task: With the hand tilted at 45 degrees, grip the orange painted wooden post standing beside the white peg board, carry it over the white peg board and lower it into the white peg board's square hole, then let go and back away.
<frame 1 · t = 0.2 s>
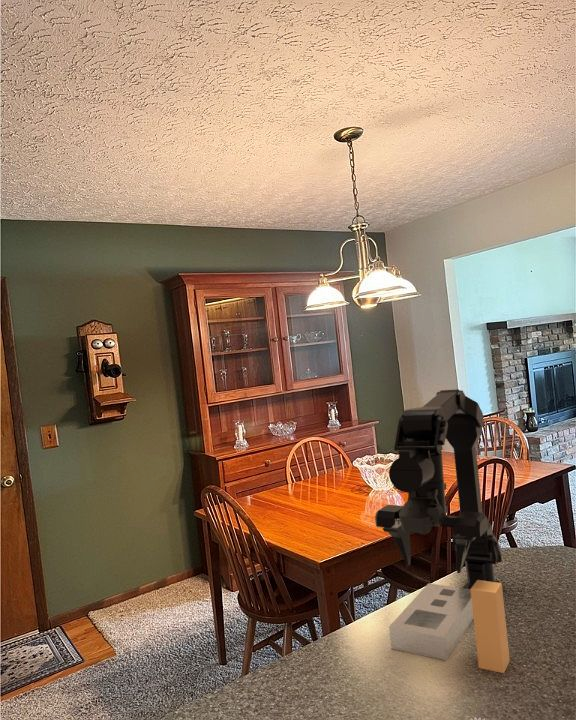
hand: (433, 568, 100), 14 cm above the counter, tool pointing down, fingers open, 9 cm apart
white peg board: (437, 628, 107), on the counter
orange post: (494, 664, 94), on the counter
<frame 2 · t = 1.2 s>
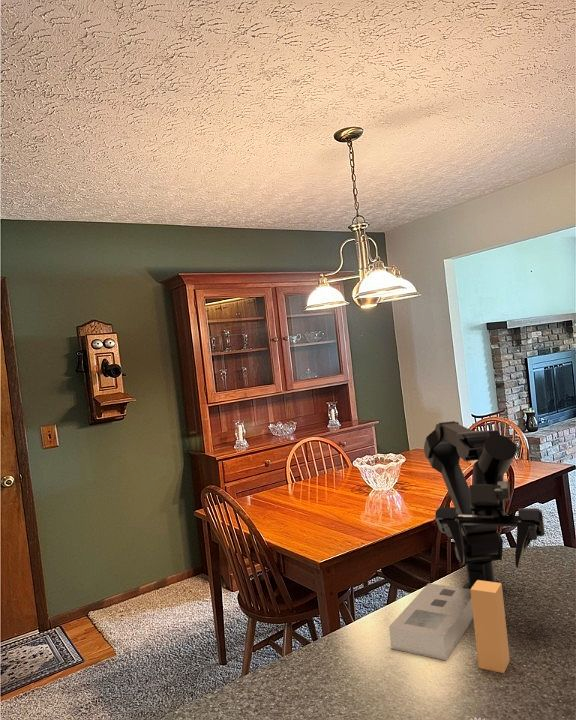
hand: (489, 565, 101), 14 cm above the counter, tool tilted 45°, fingers open, 9 cm apart
nothing on the counter moved.
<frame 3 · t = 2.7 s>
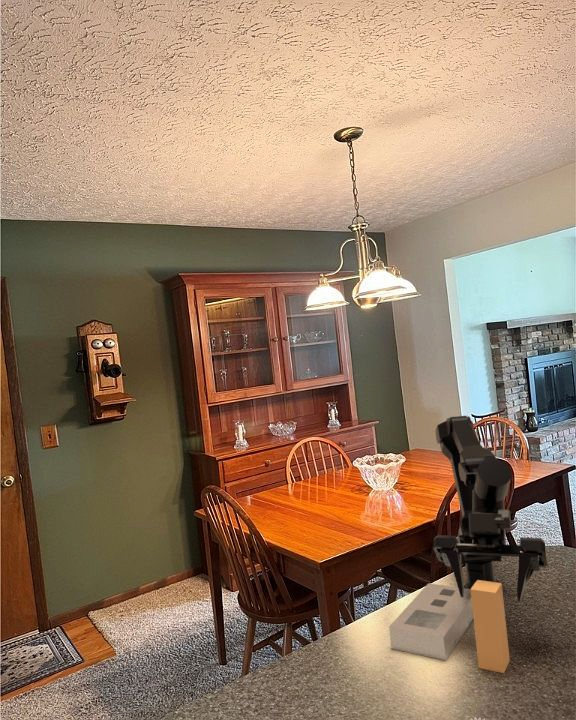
hand: (489, 598, 96), 10 cm above the counter, tool tilted 45°, fingers open, 9 cm apart
nothing on the counter moved.
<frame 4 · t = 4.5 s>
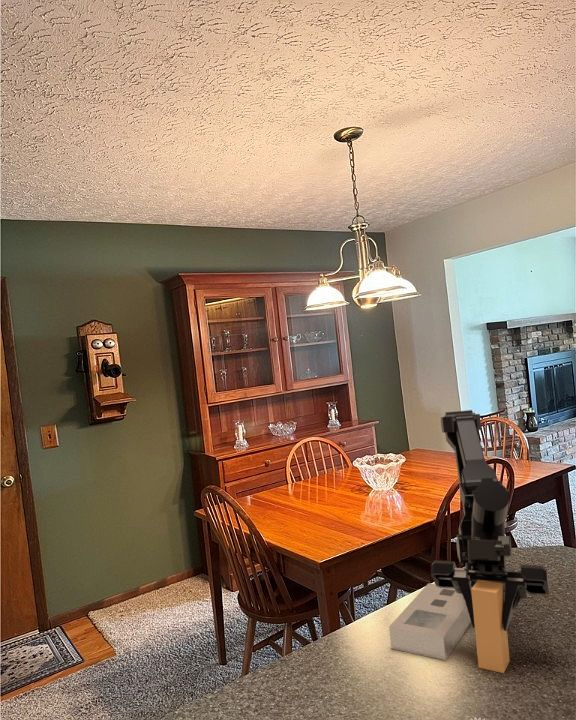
hand: (489, 628, 93), 7 cm above the counter, tool tilted 45°, fingers closed on orange post, 4 cm apart
orange post: (494, 664, 94), on the counter, touching gripper
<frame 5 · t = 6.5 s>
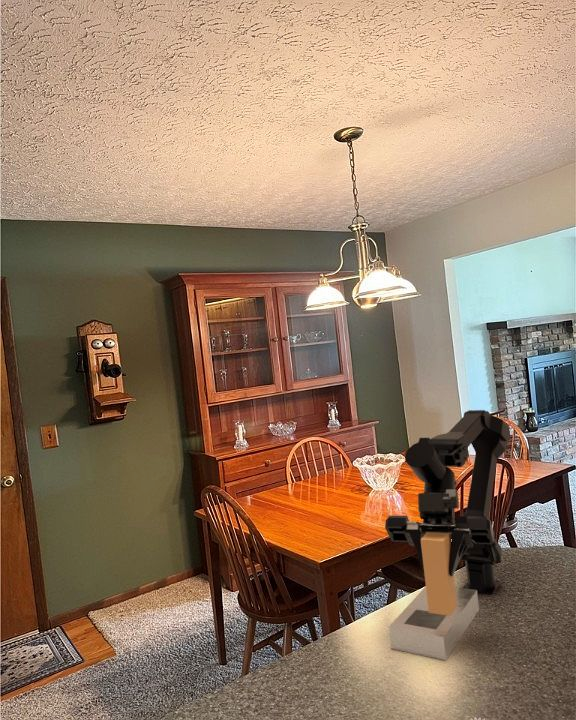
hand: (437, 574, 99), 13 cm above the counter, tool tilted 45°, fingers closed on orange post, 4 cm apart
orange post: (443, 609, 101), point 7 cm above the counter, touching gripper
when the fingers open (8 cm above the counter, at t = 8.9 s): orange post drops 1 cm, resting in white peg board.
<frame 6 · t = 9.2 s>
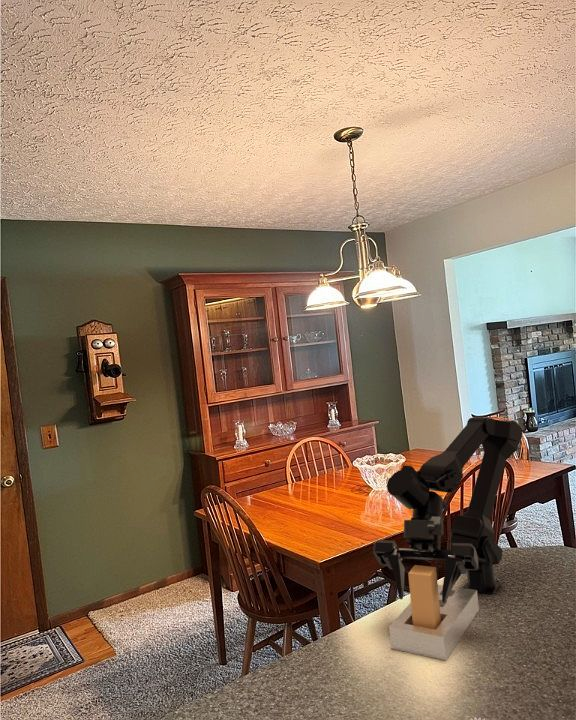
hand: (421, 600, 102), 8 cm above the counter, tool tilted 45°, fingers open, 7 cm apart
orange post: (428, 641, 103), resting in white peg board
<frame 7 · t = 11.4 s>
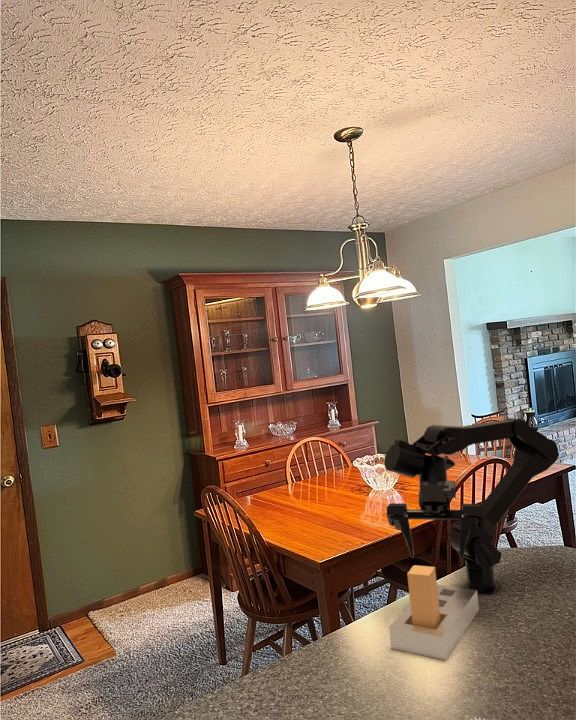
hand: (436, 557, 110), 12 cm above the counter, tool tilted 40°, fingers open, 9 cm apart
nothing on the counter moved.
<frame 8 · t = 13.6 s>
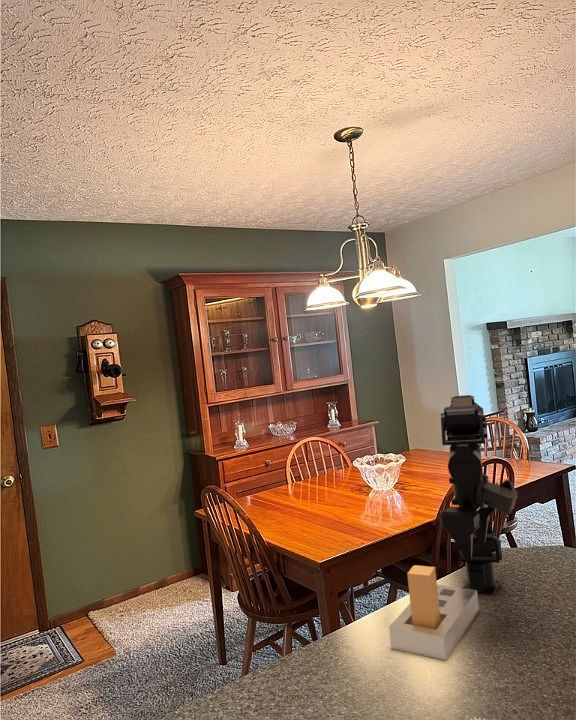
hand: (475, 551, 110), 13 cm above the counter, tool pointing down, fingers open, 9 cm apart
nothing on the counter moved.
at the end: orange post 0.1 cm from the target spot on the white peg board, point 0.0 cm above the white peg board's base; orange post tilted 0°; the gripper is holding nothing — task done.
